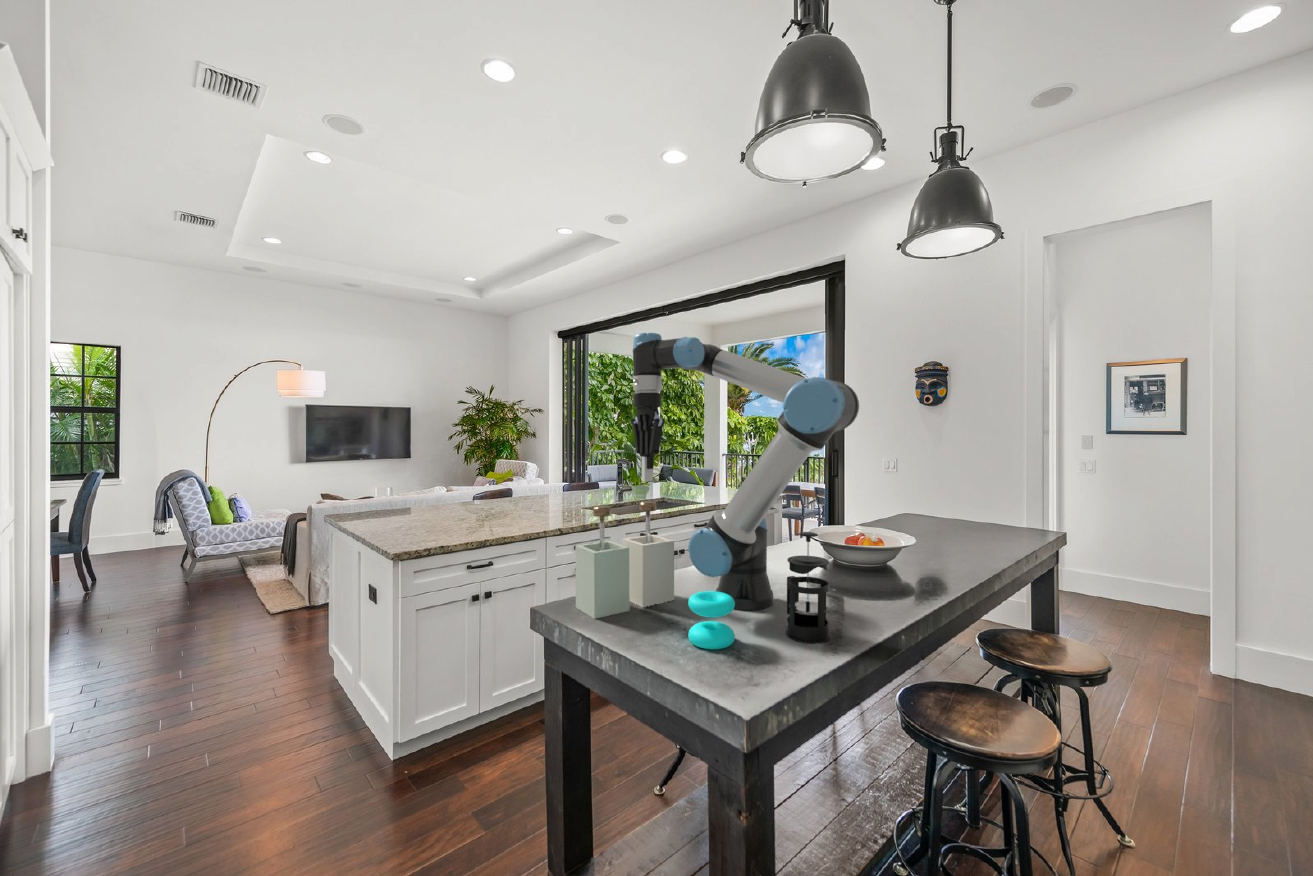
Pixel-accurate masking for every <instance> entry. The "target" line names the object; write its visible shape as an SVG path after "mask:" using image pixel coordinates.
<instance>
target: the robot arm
mask: <svg viewBox="0 0 1313 876" xmlns="http://www.w3.org/2000/svg"><path fill="white" fill-rule="evenodd" d="M632 357H633V358H632V359H633V360H632V361H633V363H632V366H633V380H632V382H633V383H632V384H633V391H634V392H635V393H633V395H632V401H633V402H632V405H633V407H634V408H636V412H635V413H636V414H635V415H636V416H635V417H634V418H631V419H630V423H631V425H632V431H633V438H634V444H635V445H634V446H635V453H636V454H639V456H640V467H641V482H653V481H654V468H655V467H654V466H655V465H654V457H655V456H657V455H659V454H660V448H661V441H662V435H663V434H662V433H663V428H664V425H665V422H666V419H665V418H661V416H660V413H659V409H658V408H661V407H662V394H661V392H662V388H663V387H662V385H663V384H662V382H663V381H662V378H663V377H662V373H663V372H662V370H671V369H682V370H690V371H697V372H700V373H703V374H707V375H709V376H711V377H714V378H718V379H720V380H722V381H725V382H728V383H731V384H733V385H735V386H739V387H740V388H744V389H746V390H748V391H751V392H754V393H756V394H758V395H762V396H764V397H767V398H770V399H772V400H774V401H778V402H779V403H782V405H783V406H782V407H783V409H782V410H783V411H782V412H781V414H780V415H779V416H778V419H777V420H776V423H777V426H778V430H777V432H776V433H775V435H774V436H773V438H772V439H771V441H770V442H769V444H768V445H767V447H766V448H765V449H764V451H763V453H762V454H761V455H760V457H759V458H758V460H757V462H756V463H755V464H754V466H753V467H752V469H751V470H750V472H749V473H748V475H746V477H745V479H744V481H743V482H742V484H741V485H740V486H739V488H738V489H737V491H736V492H735V493H734V495H733V497H732V498H731V500H730V501H729V502H728V504H727V506H726V507H725V508H724V509H717V510H716V511H714V513H713V515H712V516H711V518H710V519H709V520H708V522H707V524H706V525H705V526H704V528H699V529H698V530H696V531H695V532H694V533H693V534H692V535H691V536H690V539H689V541H688V545H687V546H688V548H687V550H688V554H689V558H690V561H691V563H692V565H693V567H695V569H696V570H697V571H698V572H699V573H700V574H702V575H704V576H706V577H711V578H716V577H719V578H720V579H719V581H718V586H717V588H716V590H715V591H716V592H722V593H726V594H728V595H730V596H731V597H732V598H733V599H734V602H735V607H734V609H733V610H742V611H743V610H745V611H752V610H762V609H765V608H768V607H771V606H773V604H774V592H773V590H772V587H771V583H770V579H769V576H768V573H767V568H768V567H767V565H768V564H767V563H768V561H767V560H768V559H767V558H768V555H767V554H768V553H767V551H768V550H767V549H768V537H767V536H768V531H769V530H768V526H767V519H766V518H765V517H766V515H767V514H768V513H769V511H770V510H771V509H772V507H773V506H774V504H776V502H777V500H778V499H779V497H780V496H781V495H782V493H783V492H784V490H785V489H786V488H787V486H788V485H789V483H790V482H791V481H792V480H793V478H794V477H795V475H796V473H798V471H799V470H800V468H801V467H802V466H803V464H804V463H805V461H806V460H807V459H808V457H809V456H810V454H811V453H812V452H815V451H822V449H824V447H825V446H826V444H827V443H828V441H829V440H830V439H831V437H832V436H833V435H834V433H836V432H839V431H844V430H845V429H847V428H848V427H849V426H851V425H852V424H853V423H854V422H855V420H856V418H857V416H858V414H859V411H860V401H859V398H858V395H857V393H856V392H855V390H854V389H853V388H852V387H851V386H850V385H849V384H846V383H844V382H842V381H837V380H831V379H828V378H827V377H826V378H825V377H820V376H819V377H816V376H813V377H809V378H806V377H802V376H800V375H797V374H794V373H791V372H788V371H786V370H783V369H780V368H776V367H774V366H771V365H770V364H769V365H768V364H766V363H764V362H763V363H762V362H760V361H757V360H754V359H751V358H748V357H746V356H742V355H739V354H737V353H733V352H731V351H727V350H725V349H722V348H719V347H718V346H716V345H712V344H706V343H703V342H702V341H700V339H699V338H698V337H694V336H693V337H692V336H691V337H687V336H684V337H681V338H680V337H679V338H670V339H663V338H662V336H661V334H660V333H656V332H641V333H637V334H635V335H634V337H633V347H632Z"/></svg>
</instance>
